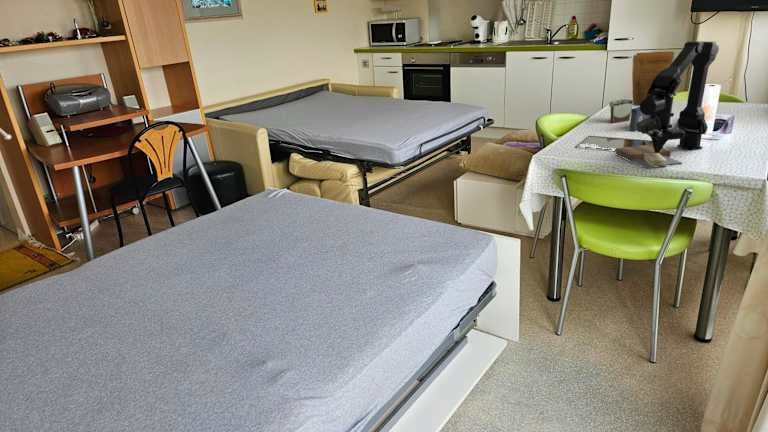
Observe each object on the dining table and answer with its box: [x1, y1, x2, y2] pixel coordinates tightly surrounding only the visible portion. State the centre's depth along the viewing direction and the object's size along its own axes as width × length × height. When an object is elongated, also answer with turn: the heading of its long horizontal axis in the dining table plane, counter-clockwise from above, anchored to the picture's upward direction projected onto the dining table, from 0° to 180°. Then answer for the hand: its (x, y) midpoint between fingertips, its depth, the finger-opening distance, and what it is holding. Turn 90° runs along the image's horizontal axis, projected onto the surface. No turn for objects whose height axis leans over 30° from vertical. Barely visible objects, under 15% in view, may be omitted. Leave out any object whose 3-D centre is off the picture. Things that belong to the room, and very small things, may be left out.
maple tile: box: [644, 153, 667, 167], centre depth 186 cm, size 5×9×2 cm, turn 171°
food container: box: [609, 98, 634, 124], centre depth 248 cm, size 12×6×10 cm, turn 108°
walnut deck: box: [615, 144, 672, 162], centre depth 196 cm, size 16×10×2 cm, turn 99°
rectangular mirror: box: [575, 135, 653, 152], centre depth 212 cm, size 19×1×28 cm
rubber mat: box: [631, 156, 683, 169], centre depth 188 cm, size 14×9×1 cm, turn 99°
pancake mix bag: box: [631, 50, 676, 107], centre depth 271 cm, size 7×19×28 cm, turn 57°
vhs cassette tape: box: [629, 106, 649, 132], centre depth 234 cm, size 18×3×10 cm, turn 124°
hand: (656, 152), depth 188 cm, fingers closed
